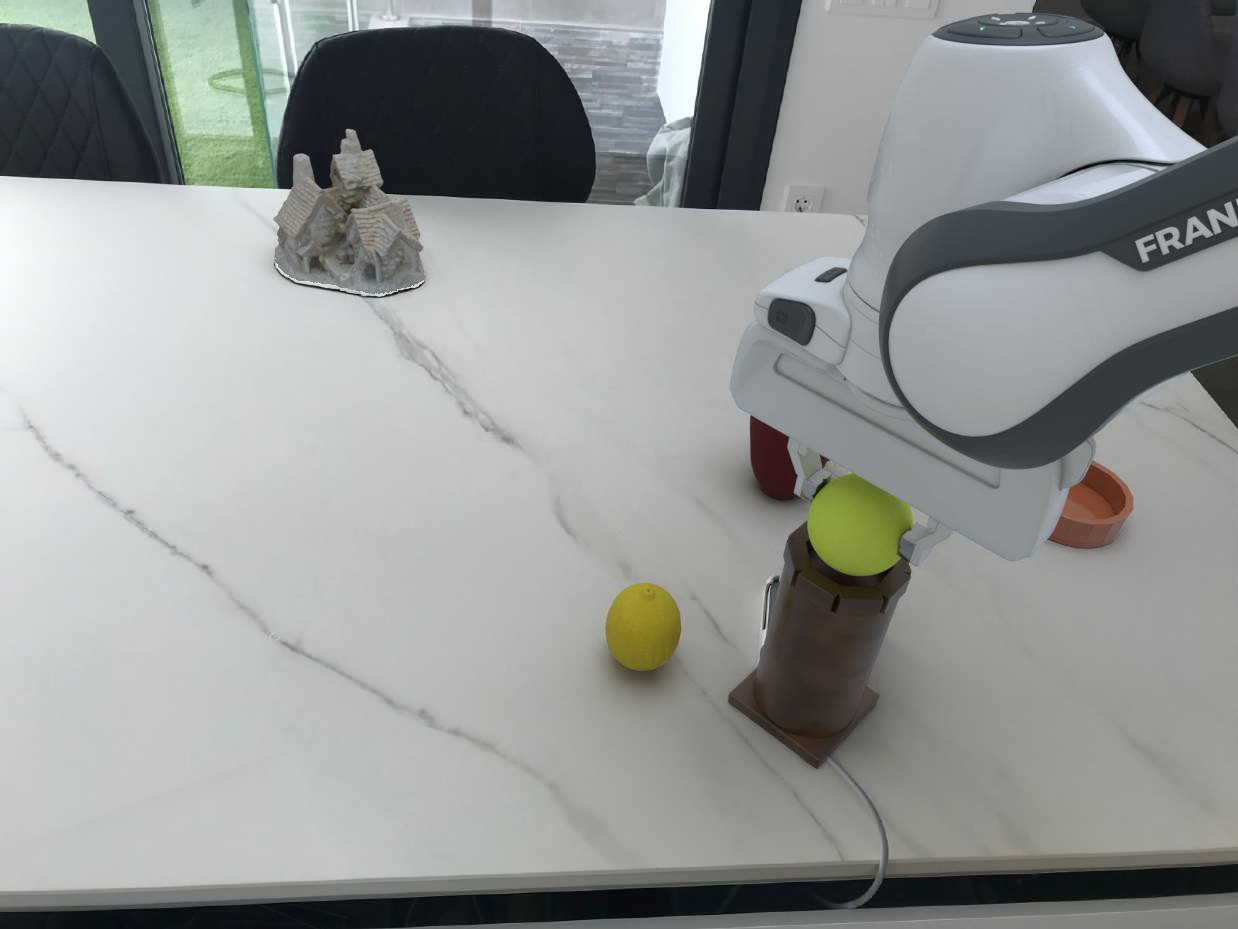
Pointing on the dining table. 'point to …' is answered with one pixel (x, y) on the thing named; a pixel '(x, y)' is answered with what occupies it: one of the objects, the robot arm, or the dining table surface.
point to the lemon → (643, 626)
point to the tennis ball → (857, 526)
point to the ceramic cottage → (348, 227)
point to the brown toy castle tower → (819, 651)
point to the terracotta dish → (1094, 510)
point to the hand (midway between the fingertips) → (858, 524)
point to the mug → (773, 461)
